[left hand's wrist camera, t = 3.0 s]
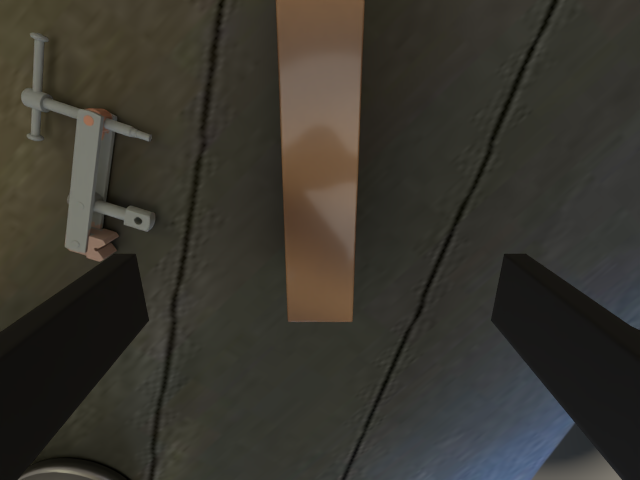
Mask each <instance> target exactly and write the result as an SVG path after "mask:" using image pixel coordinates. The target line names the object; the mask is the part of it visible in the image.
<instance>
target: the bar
mask: <svg viewBox="0 0 640 480" xmlns="http://www.w3.org/2000/svg"><path fill="white" fill-rule="evenodd" d="M364 6H365V0H276V20H277V46H278V73H279V100H280V126H281V153H282V180H283V206H284V233H285V259H286V286H287V313H288V322H352V321H353V296H354V270H355V243H356V217H357V191H358V164H359V138H360V112H361V85H362V59H363V33H364Z"/></svg>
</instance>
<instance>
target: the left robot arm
mask: <svg viewBox="0 0 640 480" xmlns="http://www.w3.org/2000/svg"><path fill="white" fill-rule="evenodd" d="M148 321H149V318H148V313H147V308H146V303H145V298H144V293H143V288H142V283H141V278H140V273H139V268H138V263H137V258H136V254H113V255H112V256H110V257H109V258H108V259H106V260H105V261H103V262H102V263H100V264H99V265H97V266H96V267H94V268H93V269H92V270H90V271H89V272H87V273H86V274H84V275H83V276H81V277H80V278H78V279H77V280H76V281H74V282H73V283H71V284H70V285H68V286H67V287H65V288H64V289H62V290H61V291H60V292H58V293H57V294H55V295H54V296H52V297H51V298H49V299H48V300H46V301H45V302H44V303H42V304H41V305H39V306H38V307H36V308H35V309H33V310H32V311H30V312H29V313H28V314H26V315H25V316H23V317H22V318H20V319H19V320H17V321H16V322H14V323H13V324H12V325H10V326H9V327H7V328H6V329H4V330H3V331H1V332H0V480H127V479H126V478H125V477H123V476H122V475H120V474H119V473H117V472H115V471H114V470H112V469H110V468H108V467H105V466H103V465H100V464H97V463H94V462H90V461H86V460H81V459H73V458H56V459H49V460H44V461H41V462H38V463H35V464H33V465H31V466H30V464H31V463H32V462H33V461H34V459H35V458H36V457H37V456H38V455H39V453H40V452H41V451H42V450H43V449H44V447H45V446H46V445H47V444H48V442H49V441H50V440H51V439H52V438H53V436H54V435H55V434H56V433H57V432H58V430H59V429H60V428H61V427H62V425H63V424H64V423H65V422H66V421H67V419H68V418H69V417H70V416H71V414H72V413H73V412H74V411H75V410H76V408H77V407H78V406H79V405H80V404H81V402H82V401H83V400H84V399H85V397H86V396H87V395H88V394H89V393H90V391H91V390H92V389H93V388H94V387H95V385H96V384H97V383H98V382H99V380H100V379H101V378H102V377H103V376H104V374H105V373H106V372H107V371H108V370H109V368H110V367H111V366H112V365H113V363H114V362H115V361H116V360H117V359H118V357H119V356H120V355H121V354H122V352H123V351H124V350H125V349H126V348H127V346H128V345H129V344H130V343H131V342H132V340H133V339H134V338H135V337H136V335H137V334H138V333H139V332H140V331H141V329H142V328H143V327H144V326H145V325H146V323H147V322H148ZM491 321H492V322H493V323H494V325H495V326H496V327H497V328H498V329H499V331H500V332H501V333H502V334H503V335H504V337H505V338H506V339H507V340H508V342H509V343H510V344H511V345H512V346H513V348H514V349H515V350H516V351H517V352H518V354H519V355H520V356H521V357H522V359H523V360H524V361H525V362H526V363H527V365H528V366H529V367H530V368H531V370H532V371H533V372H534V373H535V374H536V376H537V377H538V378H539V379H540V380H541V382H542V383H543V384H544V385H545V387H546V388H547V389H548V390H549V391H550V393H551V394H552V395H553V396H554V397H555V399H556V400H557V401H558V402H559V404H560V405H561V406H562V407H563V408H564V410H565V411H566V412H567V413H568V414H569V416H570V417H571V418H572V419H573V421H574V422H575V423H576V424H577V425H578V427H579V428H580V429H581V430H582V432H583V433H584V434H585V435H586V436H587V438H588V439H589V440H590V441H591V442H592V444H593V445H594V446H595V447H596V449H597V450H598V451H599V452H600V453H601V455H602V456H603V457H604V458H605V459H606V461H607V462H608V463H609V464H610V466H611V467H612V468H613V469H614V470H615V472H616V473H617V474H618V475H619V476H620V478H621V479H622V480H640V330H638V329H636V328H634V327H632V326H630V325H628V324H627V323H626V322H624V321H623V320H621V319H620V318H618V317H617V316H615V315H614V314H612V313H611V312H610V311H608V310H607V309H605V308H604V307H602V306H601V305H599V304H598V303H596V302H595V301H594V300H592V299H591V298H589V297H588V296H586V295H585V294H583V293H582V292H580V291H579V290H578V289H576V288H575V287H573V286H572V285H570V284H569V283H567V282H566V281H564V280H563V279H562V278H560V277H559V276H557V275H556V274H554V273H553V272H551V271H550V270H548V269H547V268H546V267H544V266H543V265H541V264H540V263H538V262H537V261H535V260H534V259H532V258H531V257H530V256H528V255H527V254H504V258H503V263H502V268H501V273H500V278H499V283H498V288H497V293H496V298H495V303H494V308H493V313H492V318H491Z"/></svg>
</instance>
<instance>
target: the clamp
mask: <svg viewBox="0 0 640 480" xmlns="http://www.w3.org/2000/svg"><path fill="white" fill-rule="evenodd" d="M30 36H31V37H32V38H34V39H35V40H34V67H33V89H32V88H26V89H25V90H24V91H23V92H22V94H21V99H22V102H23V104H24V105H25V106H28V107H31V108H32V119H31V133H29V134H27V137H28V138H29V139H31V140H34V141H42V140H44V137H43V136H41V135H40V125H41V111H43V112H49V111H50V110H51V111H54V112H57V113H60V114H63V115H66V116H69V117H72V118H75V119H77V125H76V136H75V146H74V157H73V167H72V178H71V188H70V194H69V195H68V198H67V202H68V204H69V209H68V219H67V230H66V238H65V247H66V248H68V249H69V250H70V251H73V252H76V253H80V254H83V255H87V258H89V259H92V260H96V261H99V262H100V261H102V260H104V259H105V258H107V257H108V256H110V255H111V254H113V253H114V252H116V251H117V250H116V248H115V247H114V246H113V244H112V243H109V242H111V241H112V240H114V239H116V238H117V237H119V235H118V234H117V233H116V232H114V231H110V230H107V229H102V228H103V221H104V214H105V215H108V216H111V217H115V218H118V219H121V220H124V225H127V226H130V227H133V228H137V229H140V230H143V231H146V232H148V231H149V230H150V229H152V227H153V226H154V223H155V213H154V212H150V211H147V210H144V209H141V208H138V207H134V206H129V207H127V208H124V207H121V206H117V205H114V204H111V203H108V202H106V198H107V191H108V183H109V175H110V168H111V160H112V153H113V145H114V138H115V132H117V133H120V134H123V135H126V136H129V137H135V138H140V139H143V140H146V141H149V142H150V141H151V140H152V135H151V134H148V133H145V132H142V131H139V130H138V129H135V128H134V127H132V126H130V125H127V124H124V123H121V122H118V121H117V116H116V115H114V114H112V113H110V112H108V111H107V110H105V109H95V108H88V109H79V108H76V107H73V106H70V105H68V104H65V103H62V102H59V101H56V100H53V98H52V96H51V95H49V94H46V93H44V92H42V83H43V62H44V42H48V41H49V39H48V38H47V37H46V36H43V35H42V34H40V33H31V34H30ZM140 218H141V219H142V220H141V219H140Z"/></svg>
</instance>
